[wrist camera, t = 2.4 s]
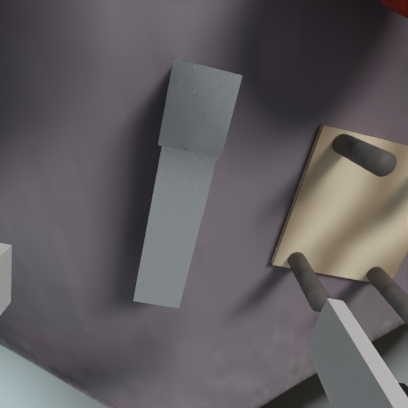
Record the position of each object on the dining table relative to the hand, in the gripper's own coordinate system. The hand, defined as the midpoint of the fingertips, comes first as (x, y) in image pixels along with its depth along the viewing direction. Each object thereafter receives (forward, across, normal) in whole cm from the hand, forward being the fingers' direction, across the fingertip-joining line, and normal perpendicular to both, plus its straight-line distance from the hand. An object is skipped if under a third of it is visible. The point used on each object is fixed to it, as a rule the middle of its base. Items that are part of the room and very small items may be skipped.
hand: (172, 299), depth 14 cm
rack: (+15, +16, +1) cm, 22 cm away
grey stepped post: (+15, 0, 0) cm, 15 cm away
